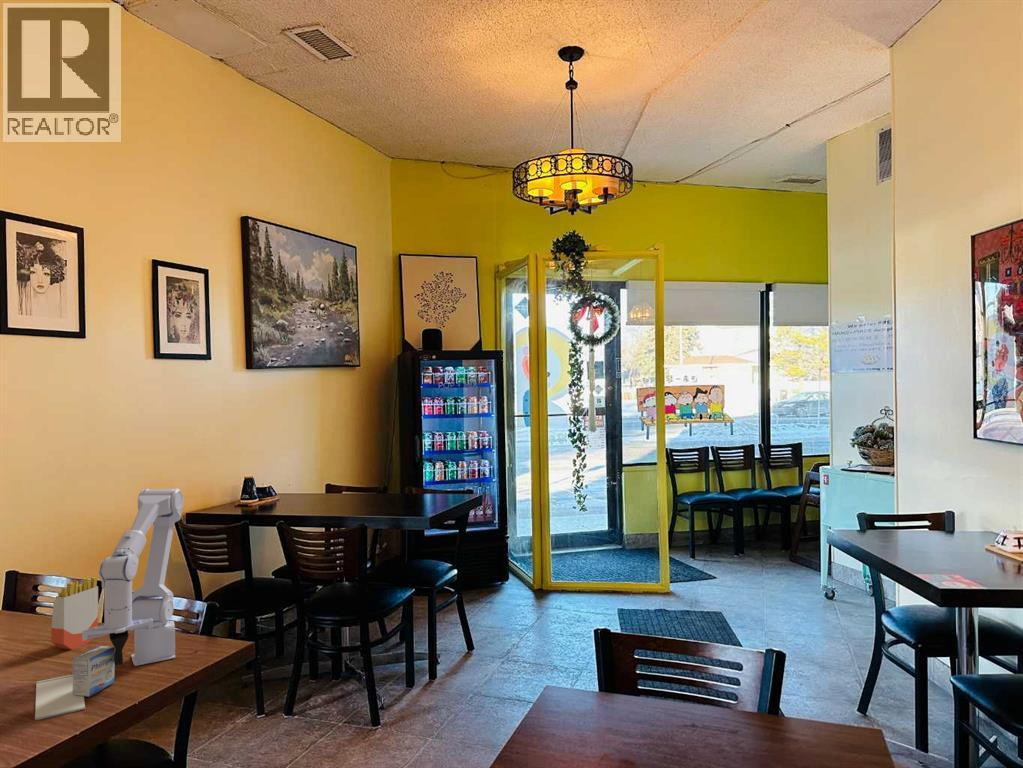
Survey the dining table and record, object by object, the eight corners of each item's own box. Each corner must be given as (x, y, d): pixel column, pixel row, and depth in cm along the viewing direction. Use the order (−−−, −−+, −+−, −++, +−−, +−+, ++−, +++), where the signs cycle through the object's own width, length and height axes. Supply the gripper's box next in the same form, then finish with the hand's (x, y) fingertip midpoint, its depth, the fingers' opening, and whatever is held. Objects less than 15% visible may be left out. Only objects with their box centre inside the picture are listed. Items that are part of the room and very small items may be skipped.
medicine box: (88, 697, 154) (89, 659, 154) (71, 695, 154) (72, 657, 154) (114, 683, 161) (115, 646, 161) (98, 681, 162) (99, 645, 162)
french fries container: (50, 651, 181) (50, 584, 181) (84, 637, 192) (85, 573, 192) (63, 653, 180) (64, 585, 180) (97, 638, 191) (98, 575, 191)
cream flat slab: (81, 674, 167) (81, 672, 167) (85, 709, 148) (85, 707, 148) (36, 683, 161) (36, 681, 161) (35, 720, 143) (35, 718, 143)
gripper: (83, 617, 153) (82, 677, 153) (154, 605, 162) (154, 662, 162) (81, 608, 159) (81, 666, 159) (151, 598, 167) (150, 653, 167)
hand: (118, 663), depth 161 cm, fingers closed, pressing on medicine box
